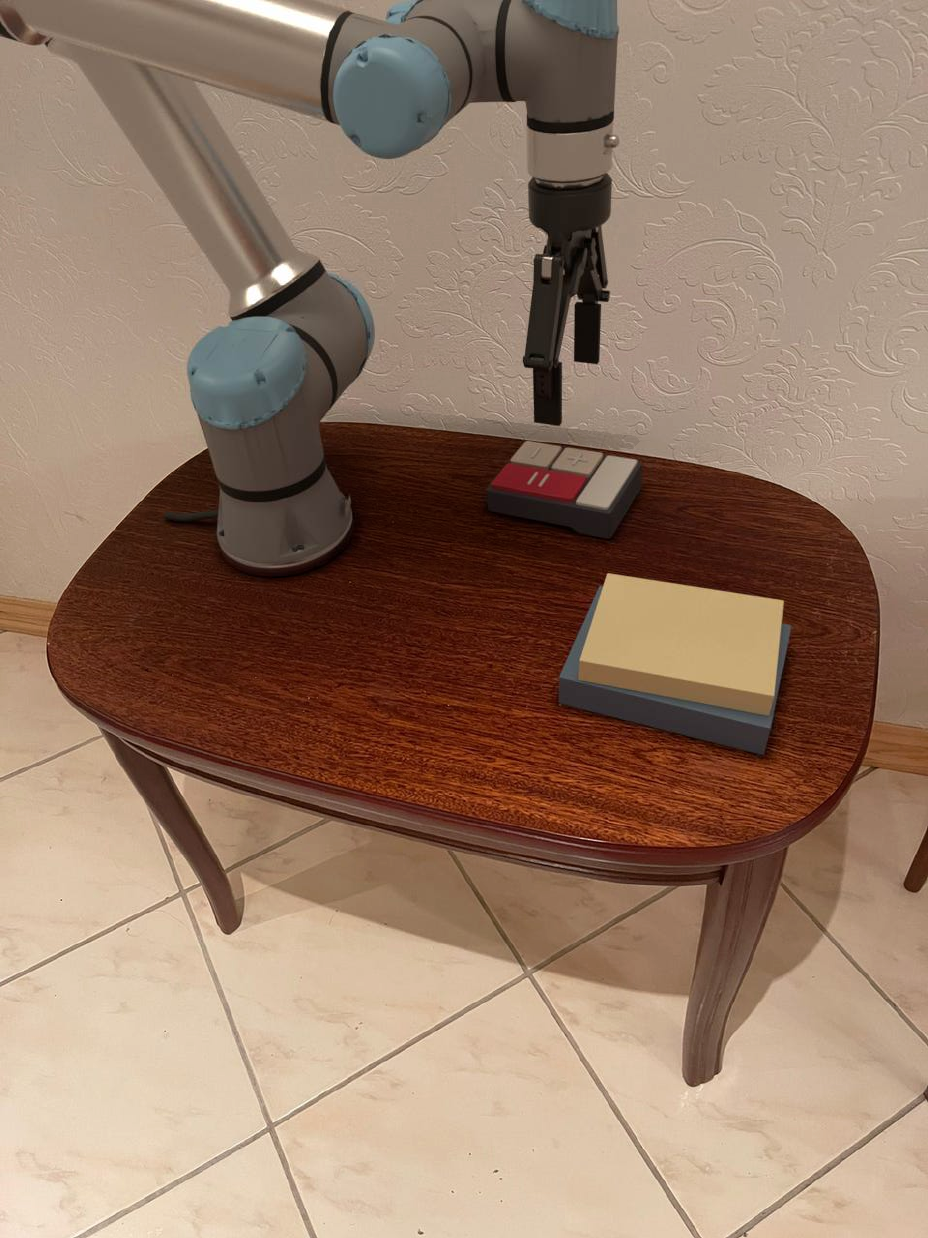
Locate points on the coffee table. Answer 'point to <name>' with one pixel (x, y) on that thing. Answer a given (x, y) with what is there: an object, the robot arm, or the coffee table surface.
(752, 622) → the book stack
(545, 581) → the coffee table surface
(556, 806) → the coffee table surface
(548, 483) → the calculator
